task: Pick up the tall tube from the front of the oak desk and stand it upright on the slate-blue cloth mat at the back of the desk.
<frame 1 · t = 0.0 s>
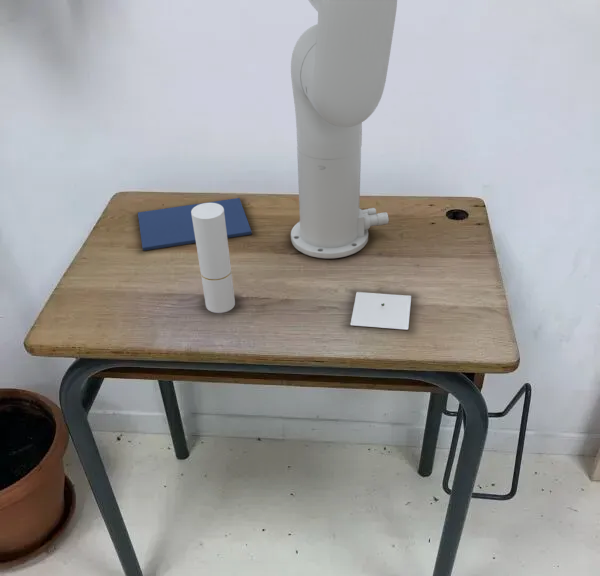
white piece: (381, 311, 98), on the table
tube: (220, 305, 101), on the table
cloth mat: (193, 224, 118), on the table
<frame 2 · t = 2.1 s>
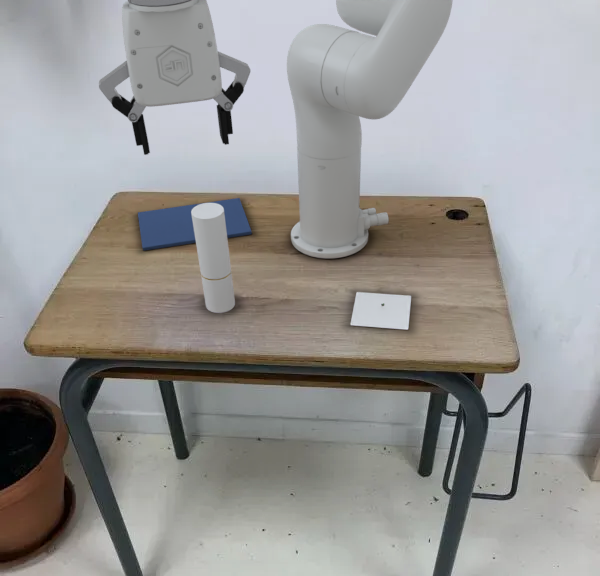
hand: (185, 145, 85), 24 cm above the table, tool pointing down, fingers open, 9 cm apart
nothing on the table moved.
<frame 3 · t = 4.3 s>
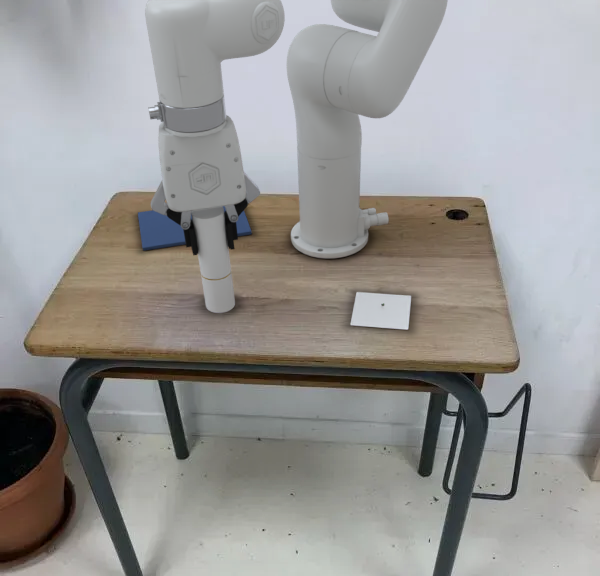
hand: (212, 245, 94), 10 cm above the table, tool pointing down, fingers closed on tube, 4 cm apart
tube: (220, 305, 101), on the table, touching gripper
everything else where it was.
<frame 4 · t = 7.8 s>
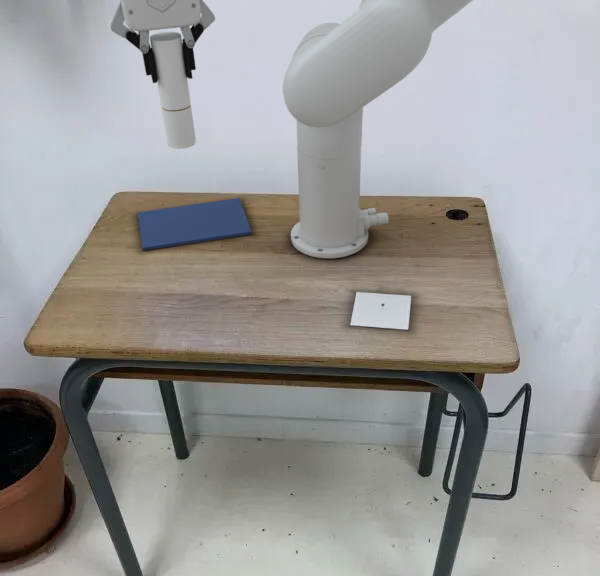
hand: (171, 76, 99), 25 cm above the table, tool pointing down, fingers closed on tube, 4 cm apart
tube: (182, 144, 106), point 15 cm above the table, touching gripper
everything else where it was.
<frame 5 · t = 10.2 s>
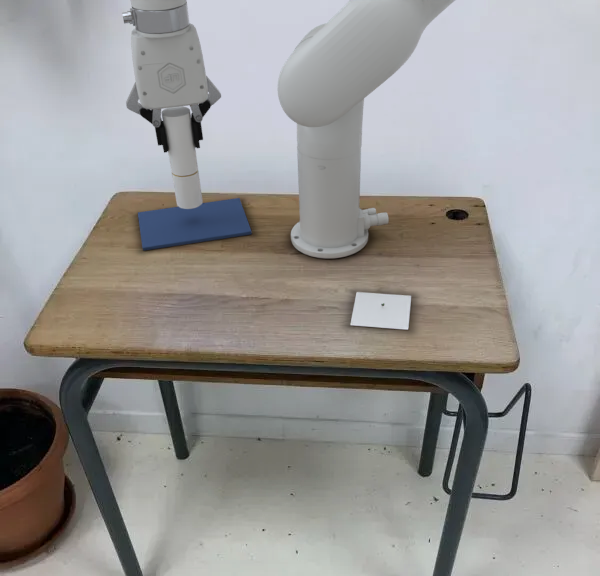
hand: (181, 145, 108), 14 cm above the table, tool pointing down, fingers closed on tube, 4 cm apart
tube: (189, 203, 115), point 4 cm above the table, touching gripper
everything else where it was.
when the fingers open (10 cm above the table, at t = 11.5 s): tube stays where it is, resting on cloth mat.
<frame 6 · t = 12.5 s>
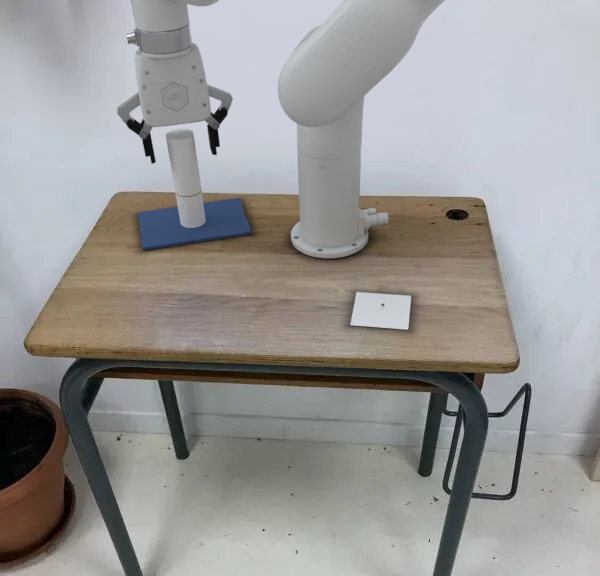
hand: (183, 155, 109), 12 cm above the table, tool pointing down, fingers open, 9 cm apart
tube: (193, 222, 117), resting on cloth mat
everything else where it was.
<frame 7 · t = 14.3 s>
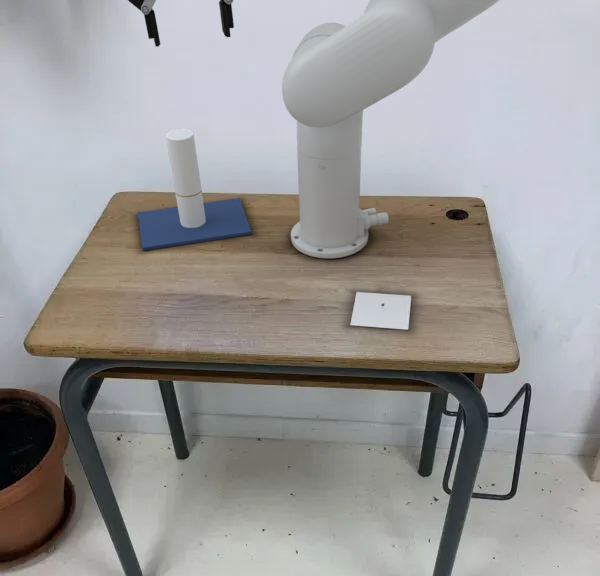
hand: (192, 39, 95), 30 cm above the table, tool pointing down, fingers open, 9 cm apart
nothing on the table moved.
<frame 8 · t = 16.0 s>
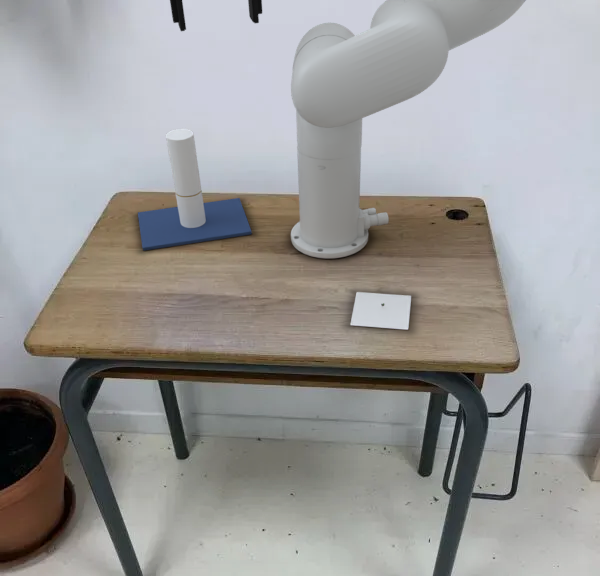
hand: (218, 24, 91), 32 cm above the table, tool pointing down, fingers open, 9 cm apart
nothing on the table moved.
at the end: tube inside the target area on the cloth mat (0.0 cm from its centre), point 0.4 cm above the cloth mat's base; tube tilted 0°; the gripper is holding nothing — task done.
